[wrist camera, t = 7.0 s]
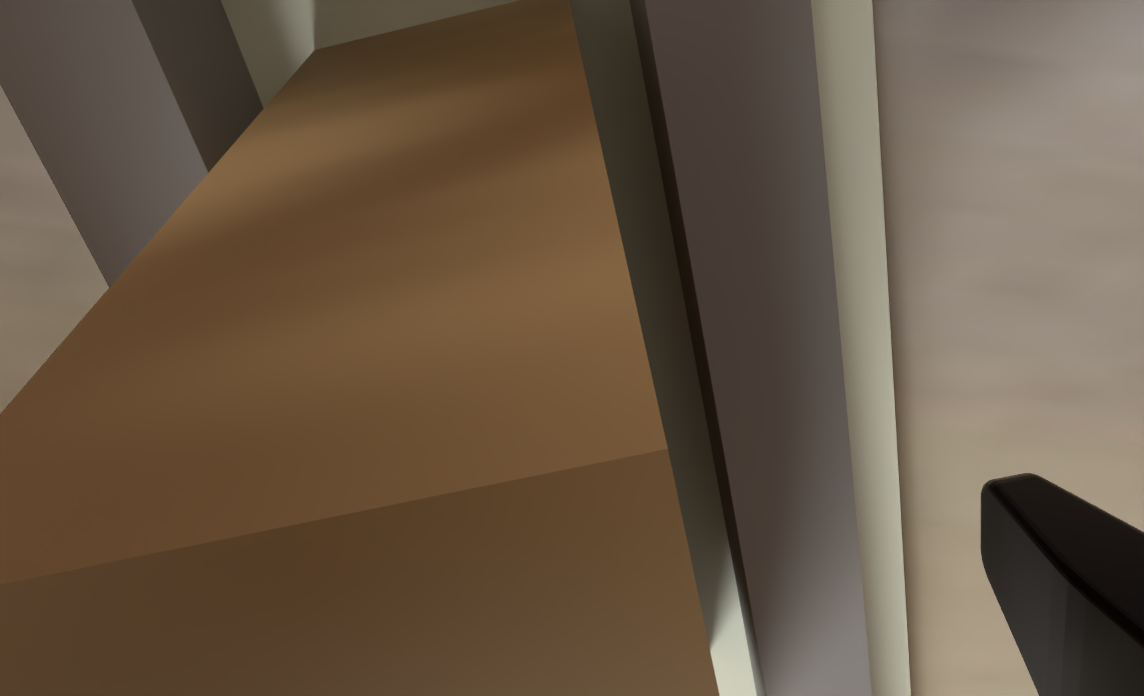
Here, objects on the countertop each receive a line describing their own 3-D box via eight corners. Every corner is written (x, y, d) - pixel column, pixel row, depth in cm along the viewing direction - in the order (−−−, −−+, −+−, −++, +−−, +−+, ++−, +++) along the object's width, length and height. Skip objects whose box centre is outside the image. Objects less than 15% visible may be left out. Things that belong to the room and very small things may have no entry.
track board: (802, -546, 7) (1041, -848, 4) (903, 860, 17) (996, 1120, 14) (-118, -285, 8) (-602, -355, 5) (490, 929, 18) (482, 1195, 15)
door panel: (566, -12, 8) (668, 447, 2) (708, 655, 13) (866, 1397, 7) (314, 49, 9) (-176, 619, 3) (540, 685, 13) (553, 1436, 7)
